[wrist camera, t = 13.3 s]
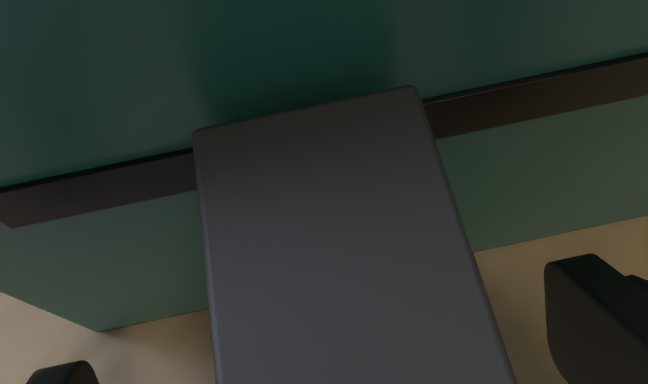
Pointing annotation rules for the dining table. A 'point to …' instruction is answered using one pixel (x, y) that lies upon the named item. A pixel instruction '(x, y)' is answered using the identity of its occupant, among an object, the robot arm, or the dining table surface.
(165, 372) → the dining table surface
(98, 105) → the toaster
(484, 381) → the slider
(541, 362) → the dining table surface
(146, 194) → the toaster trim
